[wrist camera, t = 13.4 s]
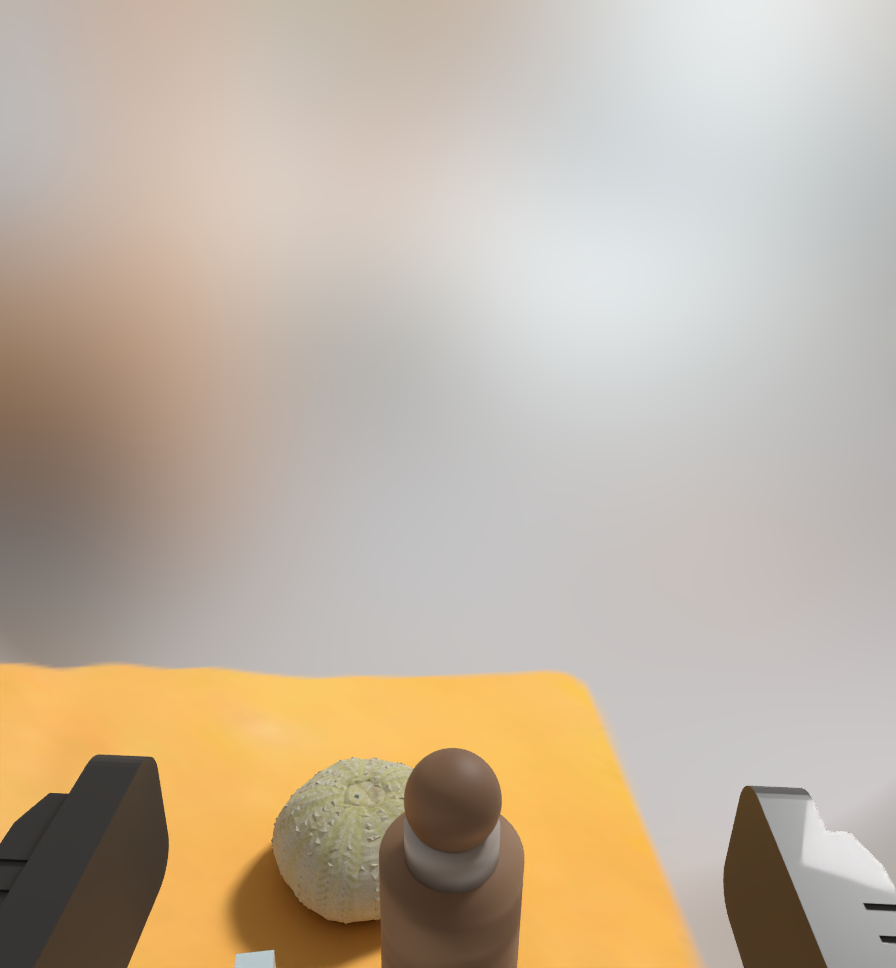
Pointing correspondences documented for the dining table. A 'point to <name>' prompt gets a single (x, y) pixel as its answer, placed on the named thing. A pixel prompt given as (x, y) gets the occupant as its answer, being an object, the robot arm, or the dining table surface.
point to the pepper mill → (451, 870)
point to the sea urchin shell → (340, 836)
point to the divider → (256, 960)
